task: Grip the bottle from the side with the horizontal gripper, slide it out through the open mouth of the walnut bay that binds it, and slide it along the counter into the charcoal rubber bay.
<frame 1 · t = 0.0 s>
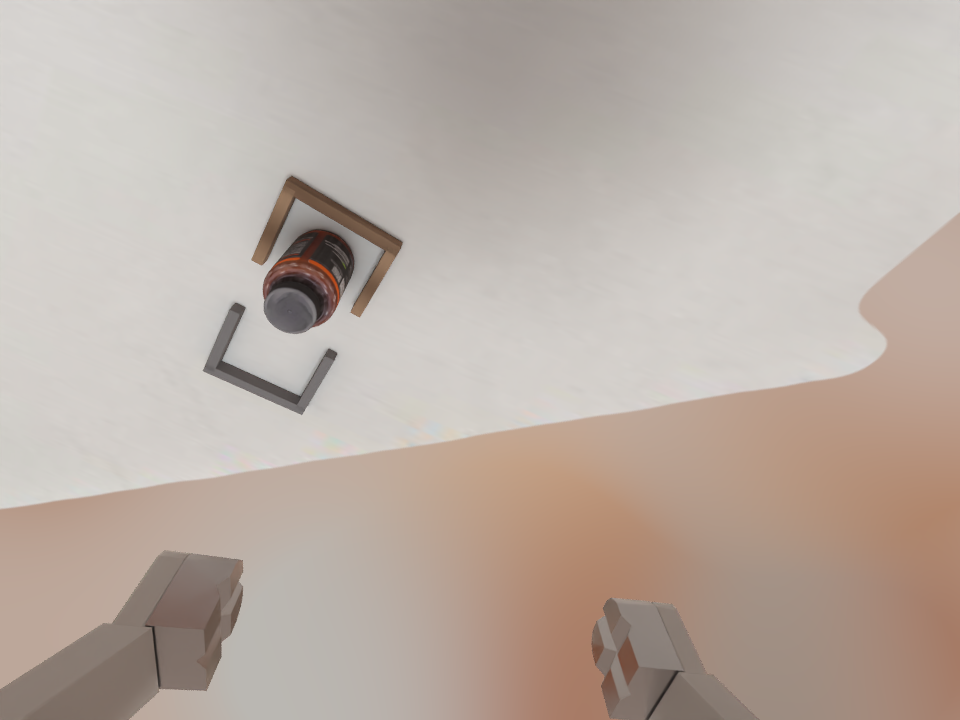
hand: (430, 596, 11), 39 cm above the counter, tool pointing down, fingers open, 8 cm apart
charcoal bay: (277, 349, 52), on the counter
supplement bottle: (324, 258, 47), on the counter
walnut bay: (324, 259, 47), on the counter
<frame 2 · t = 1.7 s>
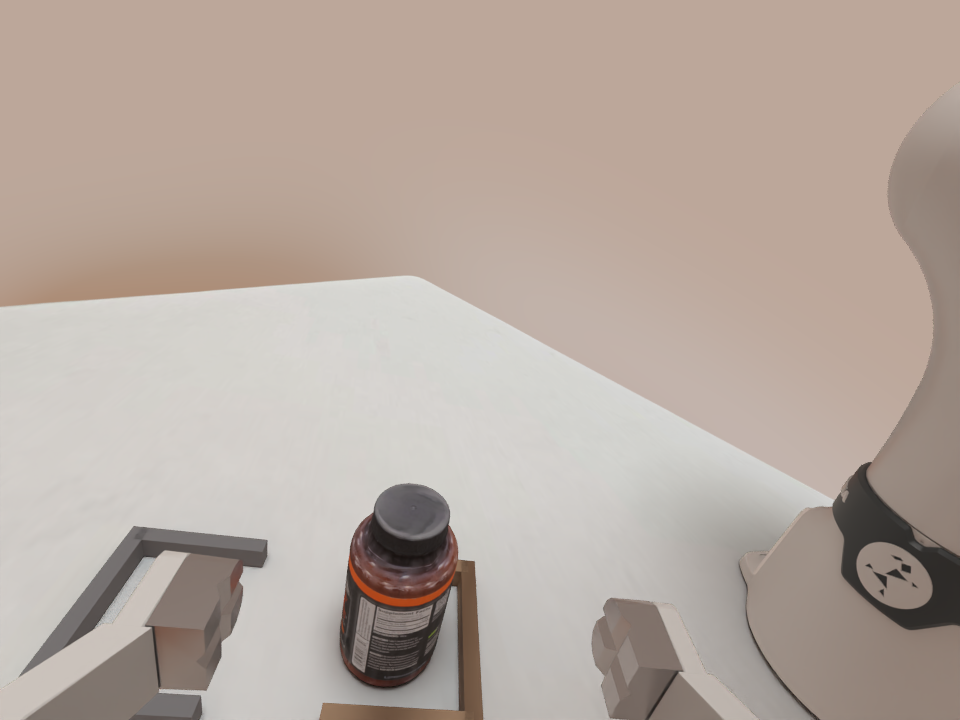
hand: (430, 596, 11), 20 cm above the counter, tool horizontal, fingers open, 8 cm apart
charcoal bay: (182, 625, 29), on the counter
supplement bottle: (386, 644, 31), on the counter
walnut bay: (387, 641, 30), on the counter
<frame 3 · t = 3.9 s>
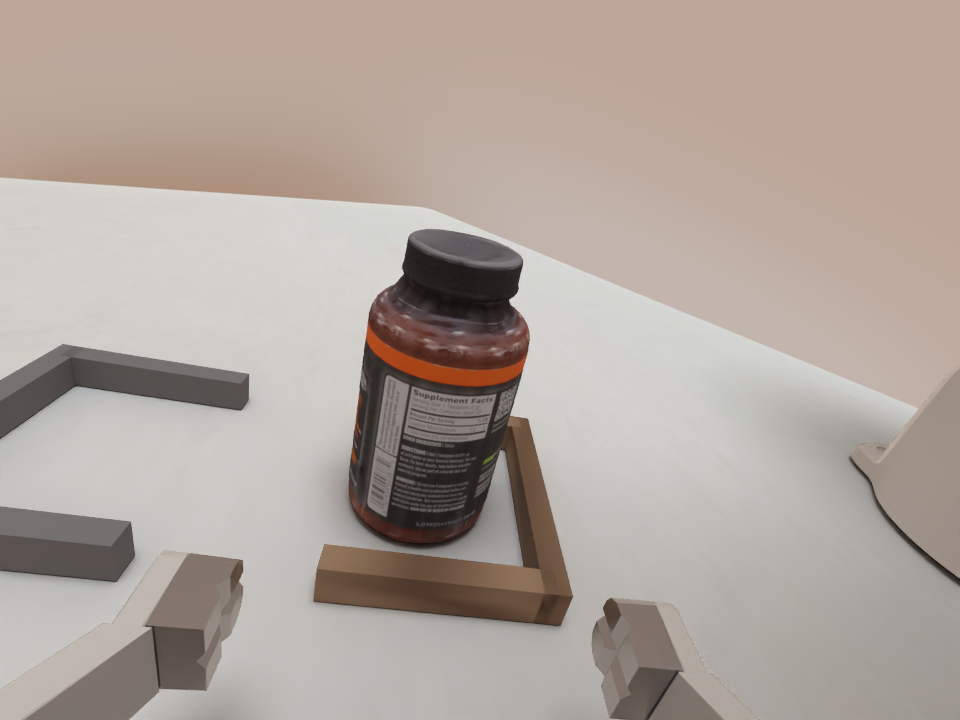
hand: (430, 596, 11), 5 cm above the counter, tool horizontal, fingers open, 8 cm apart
charcoal bay: (120, 457, 20), on the counter
supplement bottle: (414, 500, 21), on the counter
walnut bay: (415, 496, 21), on the counter
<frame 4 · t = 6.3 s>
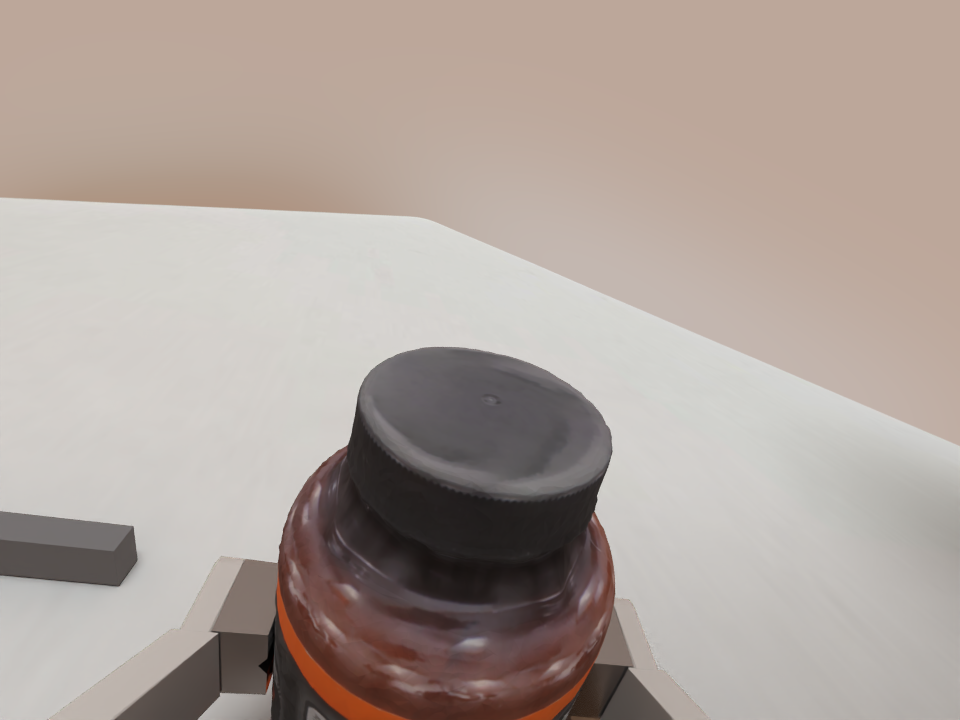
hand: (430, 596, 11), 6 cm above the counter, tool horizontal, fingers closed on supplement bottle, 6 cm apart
when the fingers open (6 cm above the counter, at t = 7.3 s): supplement bottle moves 6 cm, on the counter.
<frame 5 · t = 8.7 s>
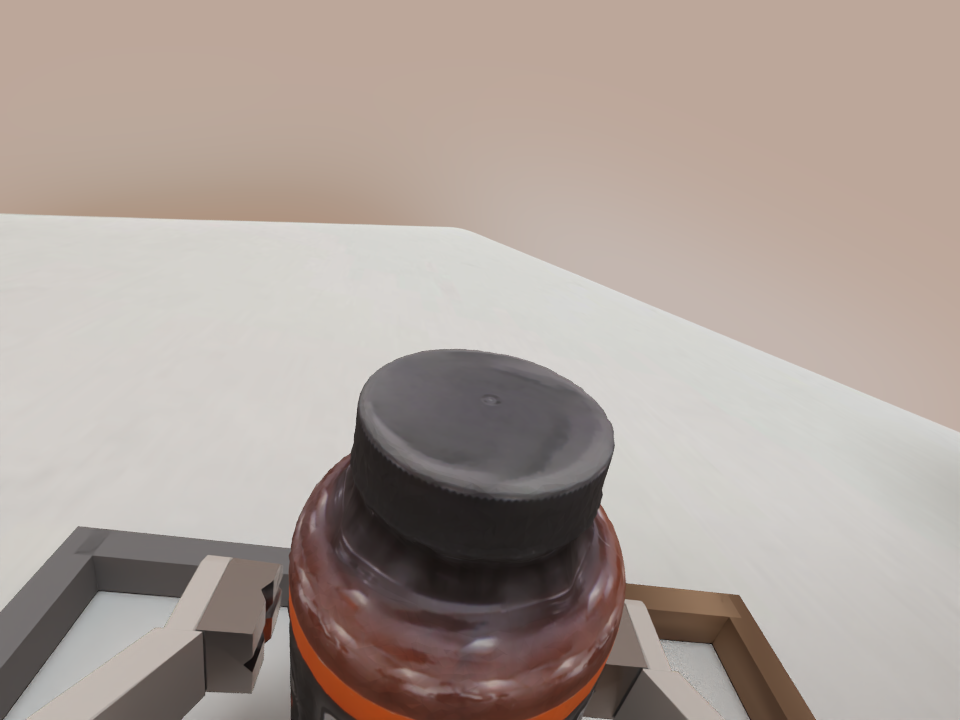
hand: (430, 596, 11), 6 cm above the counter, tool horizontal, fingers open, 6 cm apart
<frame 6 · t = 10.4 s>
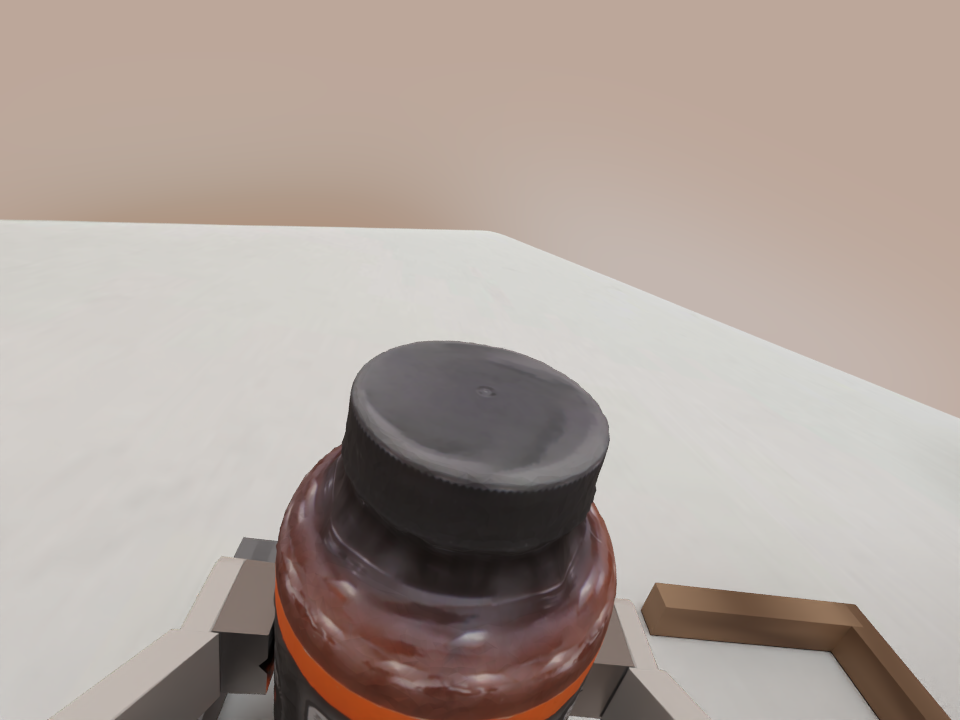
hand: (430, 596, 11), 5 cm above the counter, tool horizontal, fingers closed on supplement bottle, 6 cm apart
when the fingers open (5 cm above the counter, at t = 10.4 s): supplement bottle stays where it is, on the counter.
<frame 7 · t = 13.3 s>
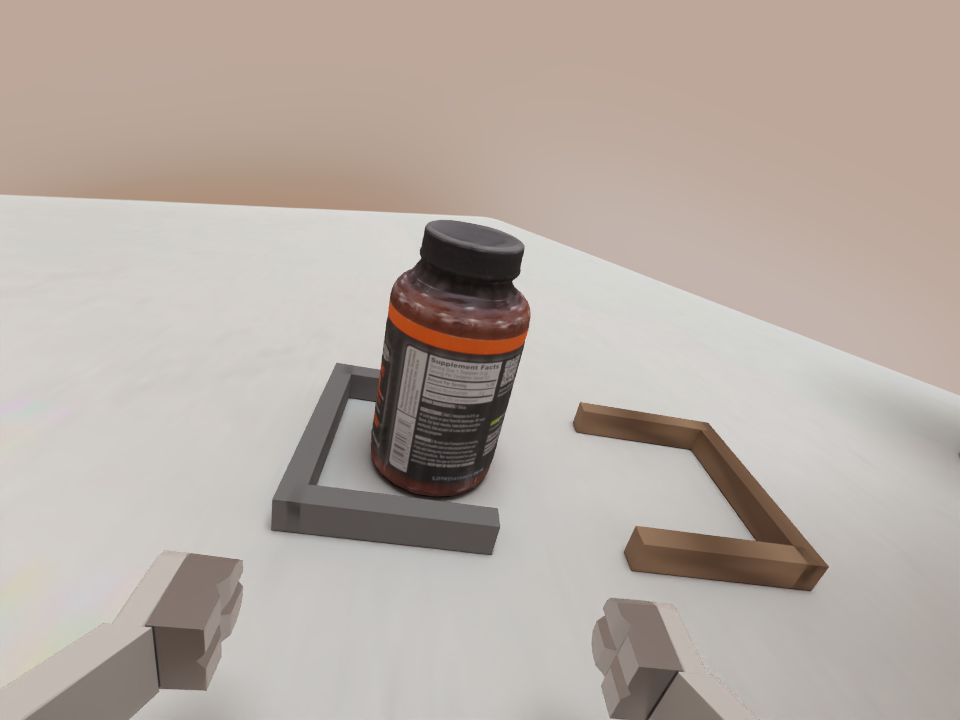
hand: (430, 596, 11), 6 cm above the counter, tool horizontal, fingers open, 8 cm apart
charcoal bay: (424, 458, 24), on the counter
supplement bottle: (428, 463, 24), on the counter
walnut bay: (650, 489, 26), on the counter
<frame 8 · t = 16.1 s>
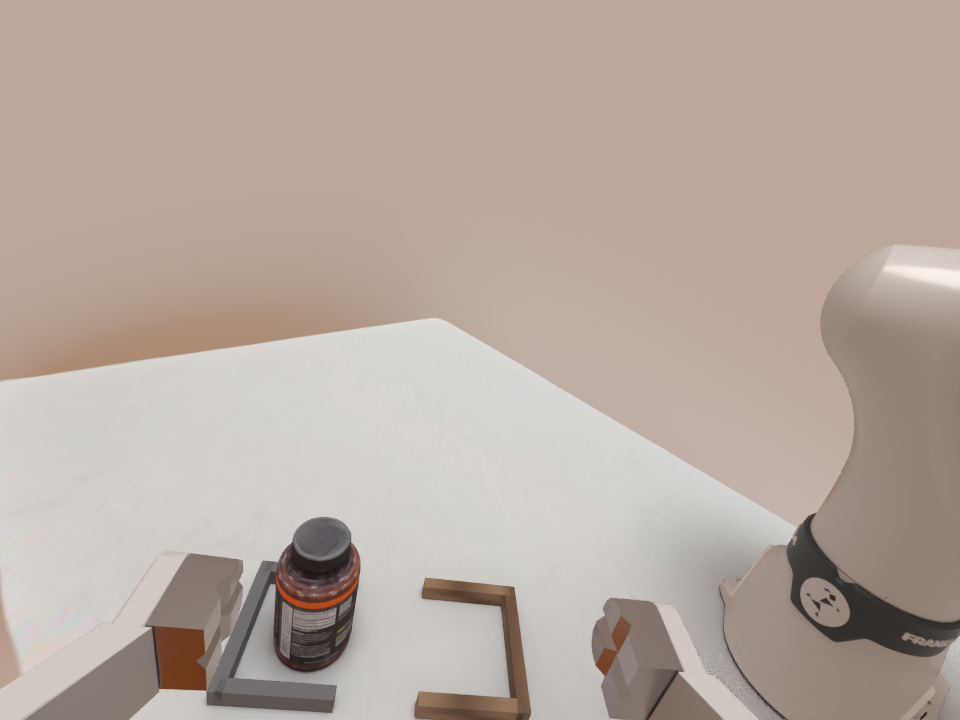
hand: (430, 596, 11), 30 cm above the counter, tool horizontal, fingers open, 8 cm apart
charcoal bay: (309, 636, 40), on the counter
supplement bottle: (312, 638, 40), on the counter
walnut bay: (454, 648, 41), on the counter
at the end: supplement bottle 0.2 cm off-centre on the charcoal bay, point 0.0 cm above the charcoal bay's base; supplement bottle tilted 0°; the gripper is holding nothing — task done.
